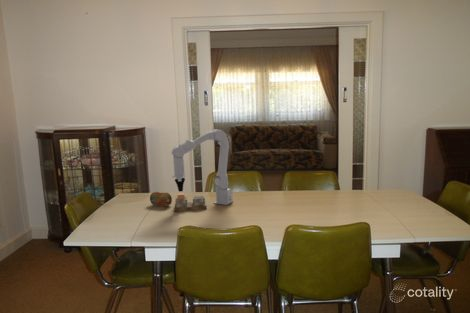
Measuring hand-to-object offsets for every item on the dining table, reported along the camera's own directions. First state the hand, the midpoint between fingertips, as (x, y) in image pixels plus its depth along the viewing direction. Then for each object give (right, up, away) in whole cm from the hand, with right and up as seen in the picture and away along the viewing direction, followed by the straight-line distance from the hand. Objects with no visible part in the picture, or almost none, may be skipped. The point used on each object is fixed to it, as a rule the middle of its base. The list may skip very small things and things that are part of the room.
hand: (180, 191), depth 205 cm
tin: (-13, -10, +10) cm, 19 cm away
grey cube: (+10, -7, +3) cm, 13 cm away
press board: (+5, -10, +2) cm, 12 cm away
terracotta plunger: (0, -6, +1) cm, 6 cm away
